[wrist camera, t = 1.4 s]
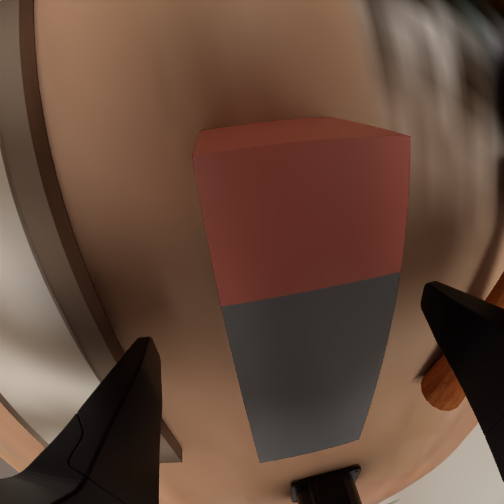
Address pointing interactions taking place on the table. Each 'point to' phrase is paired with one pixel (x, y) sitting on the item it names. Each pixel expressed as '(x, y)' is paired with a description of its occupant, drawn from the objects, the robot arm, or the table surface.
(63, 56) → the table surface
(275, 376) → the red and gray block
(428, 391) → the purple maraca
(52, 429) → the board
